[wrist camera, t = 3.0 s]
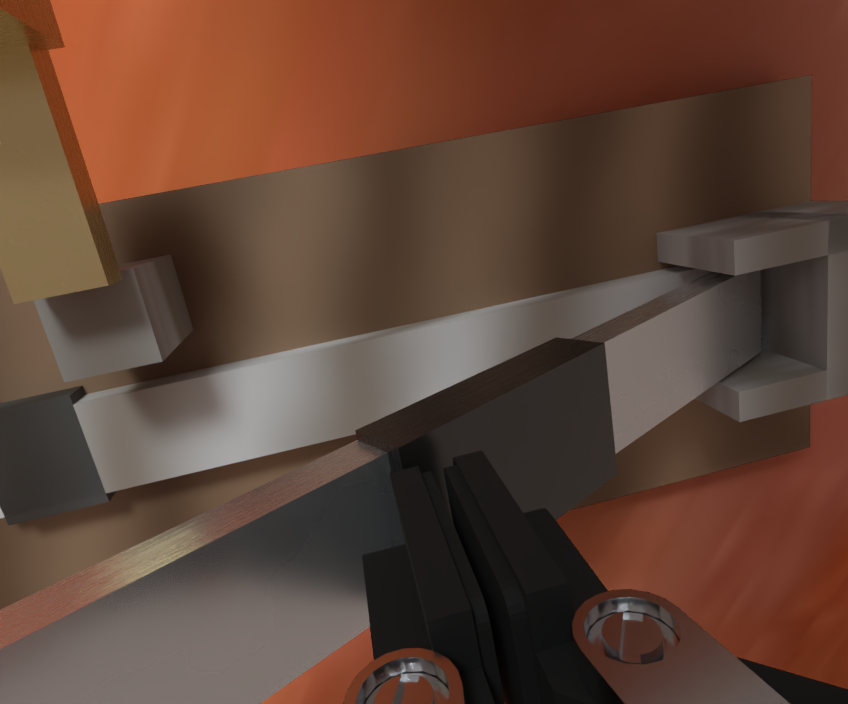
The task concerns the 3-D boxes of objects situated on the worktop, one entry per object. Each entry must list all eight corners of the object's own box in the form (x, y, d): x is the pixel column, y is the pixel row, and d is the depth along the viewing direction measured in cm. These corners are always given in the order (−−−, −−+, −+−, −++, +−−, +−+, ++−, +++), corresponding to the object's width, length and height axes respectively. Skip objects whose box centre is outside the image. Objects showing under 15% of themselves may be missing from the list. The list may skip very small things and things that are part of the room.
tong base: (778, 83, 21) (927, 45, 16) (781, 432, 25) (903, 494, 20) (-146, 250, 18) (-342, 272, 12) (24, 628, 22) (-72, 766, 16)
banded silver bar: (734, 251, 20) (779, 250, 19) (737, 352, 21) (780, 356, 20) (-539, 833, 5) (-659, 972, 4) (-331, 1066, 6) (-389, 1228, 5)
